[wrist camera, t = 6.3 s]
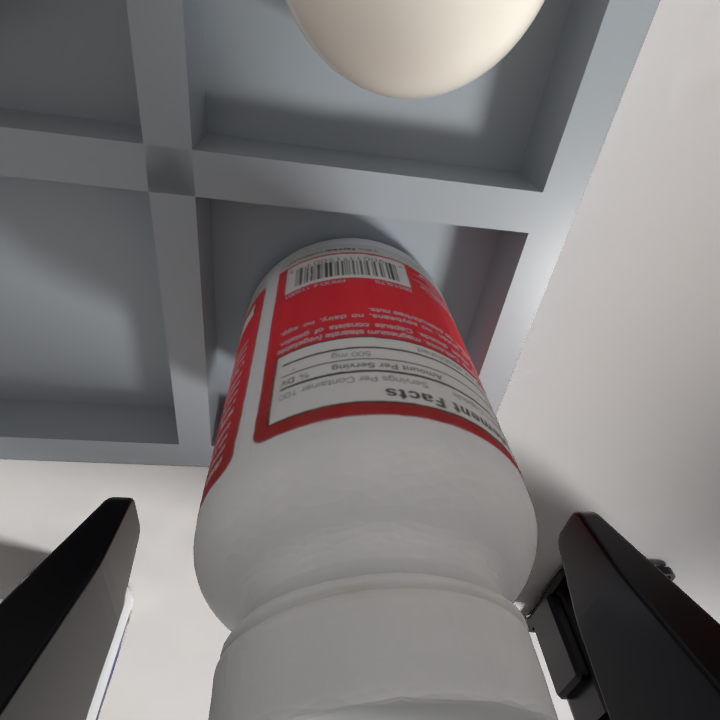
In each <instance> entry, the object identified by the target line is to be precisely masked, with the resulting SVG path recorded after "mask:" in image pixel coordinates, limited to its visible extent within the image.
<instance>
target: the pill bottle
mask: <svg viewBox="0 0 720 720" xmlns="http://www.w3.org/2000/svg"><path fill="white" fill-rule="evenodd" d="M537 533H538V529H537V521H536V517H535V512H534V507H533V505H532V502H531V499H530V497H529V494H528V491H527V488H526V486H525V483H524V481H523V478H522V475H521V472H520V470H519V469H518V466H517V463H516V461H515V459H514V457H513V455H512V453H511V450H510V448H509V446H508V443H507V441H506V438H505V436H504V434H503V432H502V430H501V428H500V425H499V423H498V421H497V418H496V415H495V413H494V411H493V409H492V407H491V404H490V402H489V400H488V398H487V395H486V392H485V390H484V388H483V386H482V383H481V381H480V379H479V376H478V374H477V372H476V370H475V367H474V365H473V363H472V361H471V358H470V356H469V354H468V352H467V349H466V347H465V345H464V343H463V340H462V338H461V336H460V334H459V331H458V329H457V327H456V324H455V322H454V320H453V318H452V315H451V313H450V311H449V309H448V307H447V304H446V302H445V300H444V298H443V296H442V294H441V292H440V290H439V288H438V286H437V285H436V283H435V281H434V280H433V278H432V277H431V276H430V275H429V273H428V272H427V271H426V270H425V269H424V268H423V267H422V266H421V265H420V264H419V263H418V262H417V261H415V260H414V259H413V258H411V257H410V256H409V255H407V254H405V253H404V252H402V251H400V250H398V249H396V248H394V247H392V246H389V245H386V244H384V243H381V242H377V241H373V240H368V239H359V238H340V239H332V240H326V241H322V242H318V243H315V244H312V245H309V246H306V247H304V248H302V249H299V250H297V251H296V252H294V253H292V254H291V255H289V256H288V257H286V258H285V259H284V260H282V261H281V262H279V263H278V264H277V265H276V266H275V267H274V268H273V269H271V270H270V271H269V273H268V274H267V275H266V276H265V277H264V279H263V280H262V281H261V283H260V284H259V286H258V287H257V289H256V291H255V293H254V295H253V297H252V300H251V302H250V305H249V308H248V311H247V314H246V318H245V321H244V325H243V330H242V335H241V339H240V343H239V347H238V351H237V355H236V360H235V364H234V368H233V373H232V377H231V381H230V385H229V389H228V393H227V397H226V401H225V405H224V410H223V414H222V418H221V422H220V426H219V430H218V435H217V439H216V443H215V446H214V450H213V454H212V458H211V463H210V467H209V472H208V475H207V479H206V483H205V488H204V491H203V496H202V500H201V504H200V509H199V513H198V519H197V525H196V531H195V538H194V567H195V572H196V576H197V580H198V583H199V586H200V589H201V592H202V594H203V596H204V598H205V600H206V602H207V603H208V605H209V607H210V608H211V609H212V611H213V612H214V614H215V615H216V616H217V617H218V618H219V620H220V621H221V622H222V623H223V624H224V625H225V626H226V627H227V628H228V629H229V630H230V631H232V632H231V633H230V635H229V637H228V638H227V640H226V641H225V643H224V646H223V649H222V652H221V655H220V660H219V662H218V664H217V667H216V670H215V674H214V679H213V688H212V698H211V706H210V712H209V719H208V720H558V717H557V714H556V711H555V708H554V705H553V702H552V699H551V696H550V693H549V690H548V686H547V683H546V680H545V677H544V674H543V671H542V668H541V665H540V663H539V660H538V657H537V654H536V652H535V649H534V646H533V643H532V640H531V637H530V635H529V629H528V625H527V623H526V620H525V618H524V617H523V615H522V613H521V612H520V611H519V610H518V608H517V607H516V606H515V605H514V604H513V603H514V602H515V601H516V599H517V598H518V596H519V595H520V593H521V592H522V590H523V588H524V586H525V585H526V583H527V580H528V578H529V576H530V573H531V571H532V568H533V565H534V562H535V556H536V550H537Z"/></svg>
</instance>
